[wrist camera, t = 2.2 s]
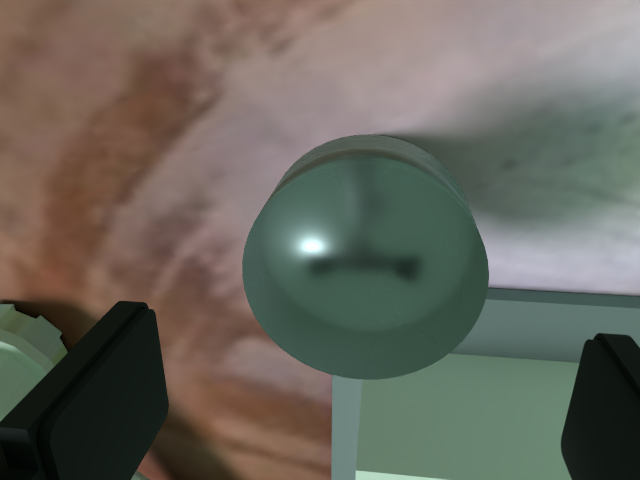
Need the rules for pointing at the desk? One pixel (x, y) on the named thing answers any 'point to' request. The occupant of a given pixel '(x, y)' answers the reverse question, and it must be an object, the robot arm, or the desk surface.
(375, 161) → the steel pin
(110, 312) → the robot arm
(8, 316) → the white flashlight
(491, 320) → the hitch block
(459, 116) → the desk surface
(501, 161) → the desk surface
